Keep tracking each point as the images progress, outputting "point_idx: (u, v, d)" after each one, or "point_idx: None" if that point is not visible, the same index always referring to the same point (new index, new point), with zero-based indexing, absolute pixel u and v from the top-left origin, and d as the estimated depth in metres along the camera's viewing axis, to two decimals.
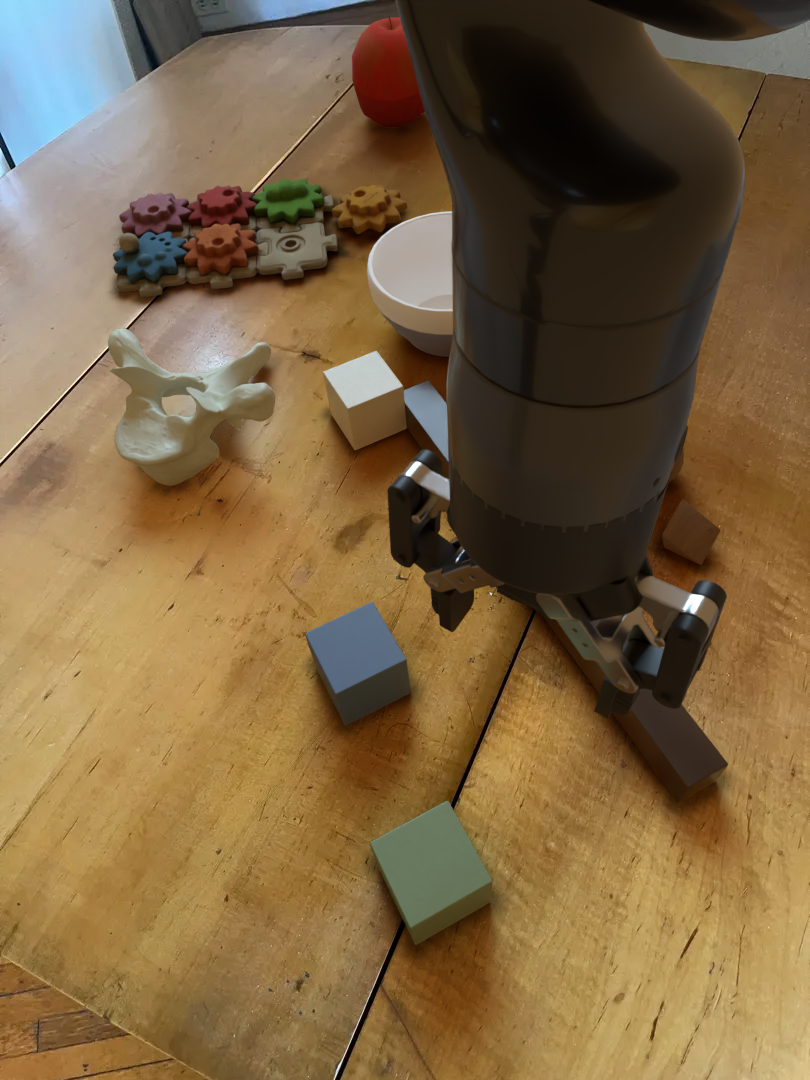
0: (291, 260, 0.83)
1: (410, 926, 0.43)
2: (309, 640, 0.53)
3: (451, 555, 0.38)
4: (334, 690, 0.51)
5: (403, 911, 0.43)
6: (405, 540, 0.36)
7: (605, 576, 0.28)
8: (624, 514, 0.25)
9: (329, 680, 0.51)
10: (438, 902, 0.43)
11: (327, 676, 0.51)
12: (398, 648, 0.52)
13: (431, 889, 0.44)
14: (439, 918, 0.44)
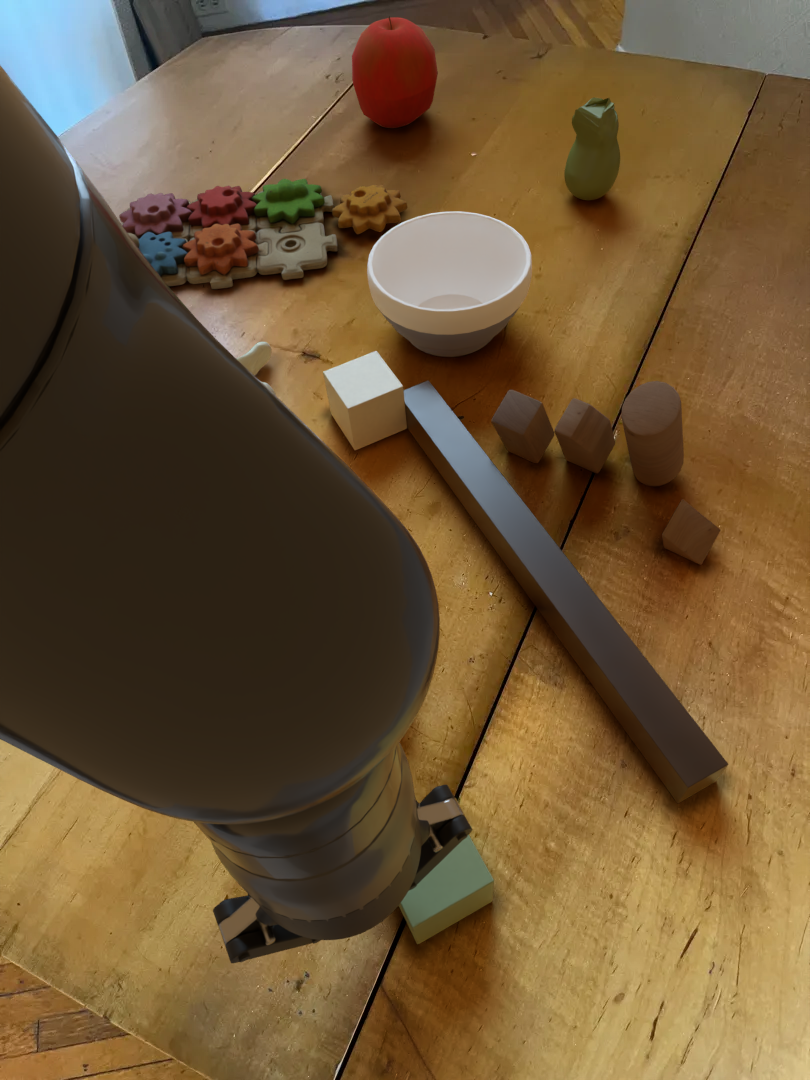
0: (291, 260, 0.83)
1: (412, 925, 0.43)
2: None
3: None
4: None
5: (405, 911, 0.43)
6: (294, 941, 0.39)
7: (420, 847, 0.34)
8: (416, 819, 0.31)
9: None
10: (440, 902, 0.43)
11: None
12: None
13: (433, 888, 0.44)
14: (441, 917, 0.44)
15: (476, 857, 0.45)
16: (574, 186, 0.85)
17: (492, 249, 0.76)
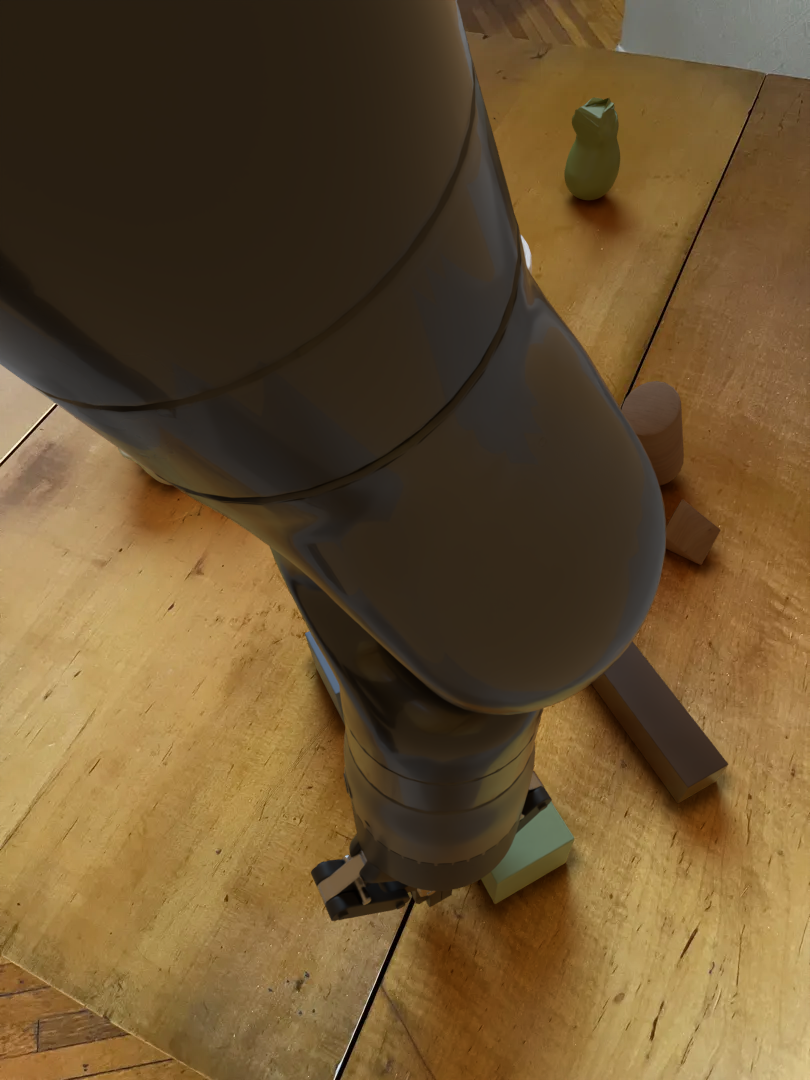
0: None
1: (497, 881, 0.44)
2: (309, 640, 0.53)
3: None
4: (334, 690, 0.51)
5: None
6: (384, 904, 0.41)
7: None
8: None
9: (329, 680, 0.51)
10: (523, 859, 0.44)
11: (327, 676, 0.51)
12: None
13: (515, 846, 0.45)
14: (522, 875, 0.45)
15: (556, 816, 0.46)
16: (574, 186, 0.85)
17: None
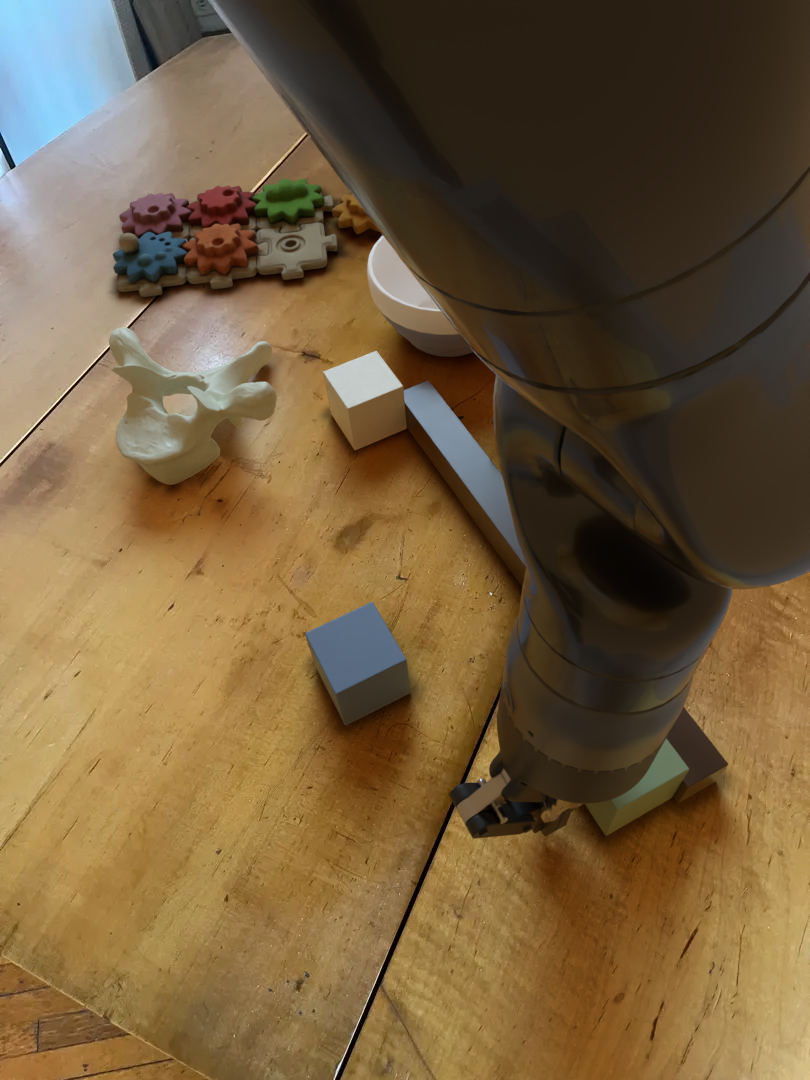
0: (291, 260, 0.83)
1: (617, 808, 0.46)
2: (309, 640, 0.53)
3: None
4: (334, 690, 0.51)
5: None
6: (515, 826, 0.42)
7: None
8: None
9: (329, 680, 0.51)
10: (640, 788, 0.46)
11: (327, 676, 0.51)
12: (398, 648, 0.52)
13: None
14: (637, 805, 0.47)
15: (669, 748, 0.47)
16: None
17: None
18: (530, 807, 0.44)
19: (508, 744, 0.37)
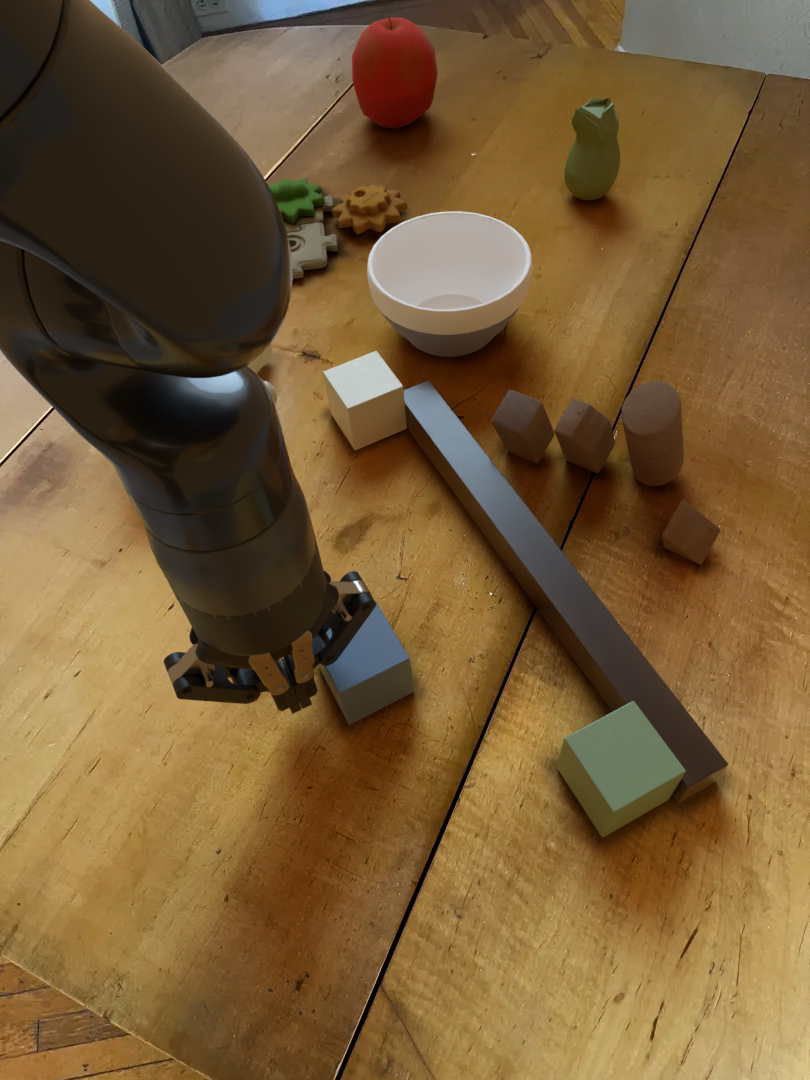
0: None
1: (613, 810, 0.45)
2: None
3: None
4: (338, 689, 0.51)
5: (605, 797, 0.46)
6: (231, 692, 0.47)
7: (324, 590, 0.43)
8: (314, 551, 0.40)
9: (333, 679, 0.51)
10: (637, 789, 0.46)
11: (331, 675, 0.51)
12: (401, 647, 0.52)
13: (628, 778, 0.46)
14: (634, 807, 0.47)
15: (666, 750, 0.47)
16: (574, 186, 0.85)
17: (492, 249, 0.76)
18: (255, 679, 0.49)
19: None
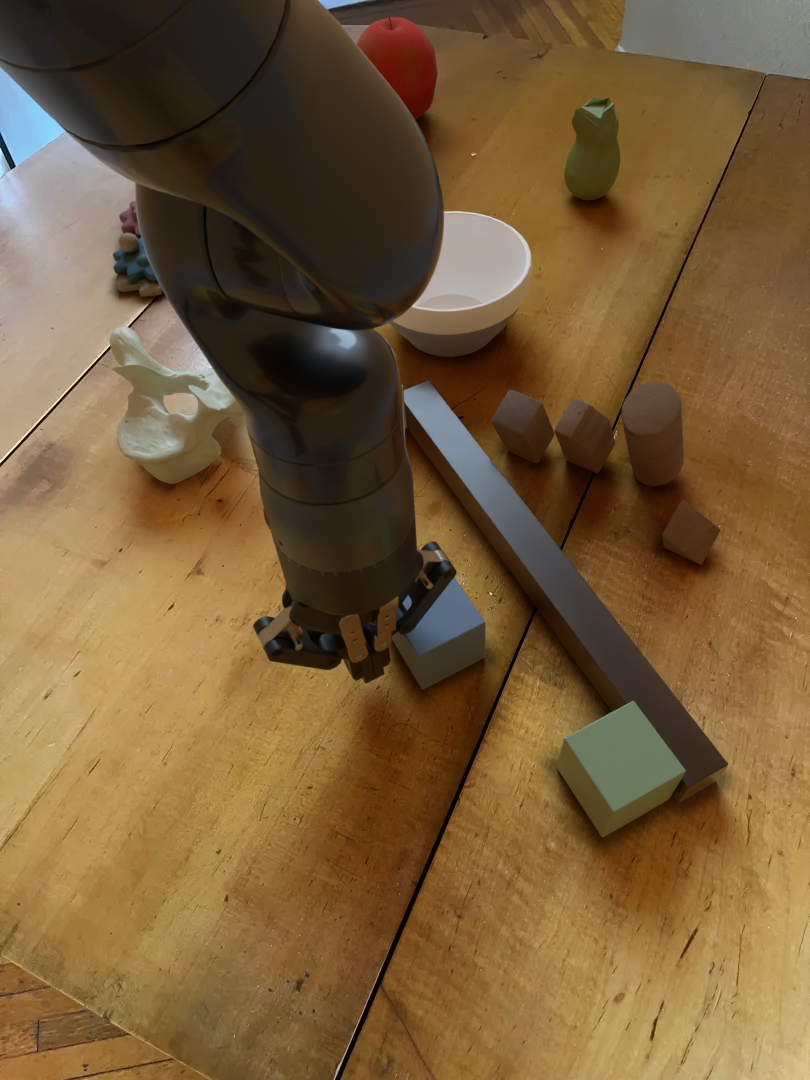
0: None
1: (613, 810, 0.45)
2: None
3: None
4: (417, 652, 0.52)
5: (605, 797, 0.46)
6: (316, 657, 0.49)
7: (416, 554, 0.44)
8: (414, 513, 0.42)
9: (411, 643, 0.52)
10: (637, 789, 0.46)
11: (409, 639, 0.53)
12: (476, 612, 0.53)
13: (628, 778, 0.46)
14: (634, 807, 0.47)
15: (666, 750, 0.47)
16: (574, 186, 0.85)
17: (492, 249, 0.76)
18: (336, 646, 0.51)
19: (281, 566, 0.43)
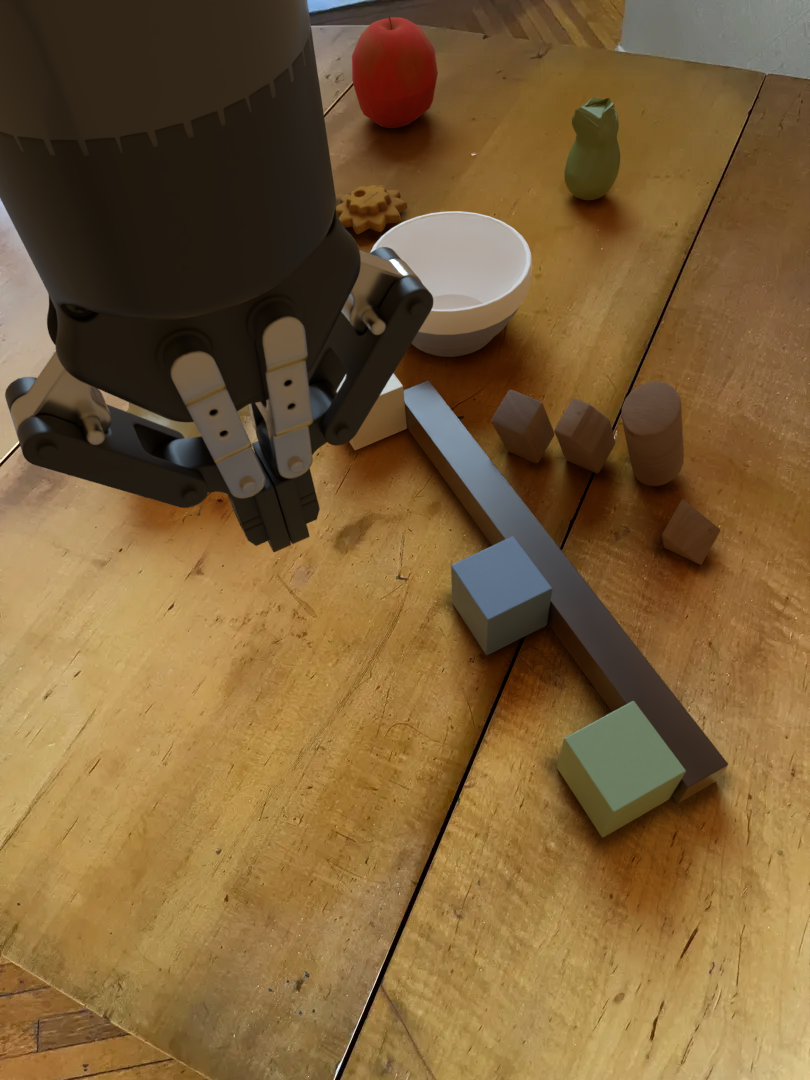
0: None
1: (613, 810, 0.45)
2: (456, 571, 0.55)
3: None
4: (486, 616, 0.53)
5: (605, 797, 0.46)
6: (147, 472, 0.24)
7: (330, 194, 0.19)
8: (307, 33, 0.17)
9: (480, 607, 0.54)
10: (637, 789, 0.46)
11: (477, 604, 0.54)
12: (543, 578, 0.55)
13: (628, 778, 0.46)
14: (634, 807, 0.47)
15: (666, 750, 0.47)
16: (574, 186, 0.85)
17: (492, 248, 0.76)
18: (199, 461, 0.26)
19: None
